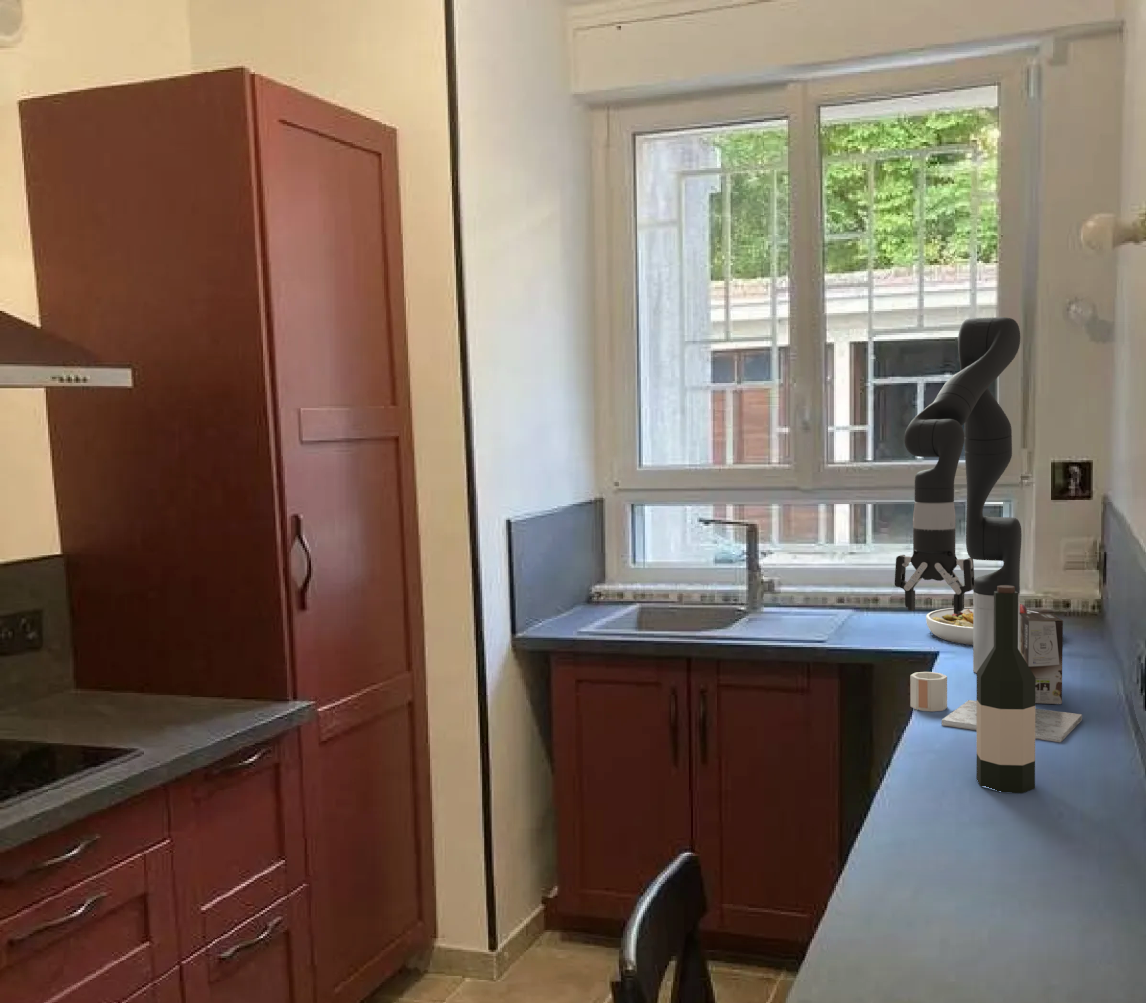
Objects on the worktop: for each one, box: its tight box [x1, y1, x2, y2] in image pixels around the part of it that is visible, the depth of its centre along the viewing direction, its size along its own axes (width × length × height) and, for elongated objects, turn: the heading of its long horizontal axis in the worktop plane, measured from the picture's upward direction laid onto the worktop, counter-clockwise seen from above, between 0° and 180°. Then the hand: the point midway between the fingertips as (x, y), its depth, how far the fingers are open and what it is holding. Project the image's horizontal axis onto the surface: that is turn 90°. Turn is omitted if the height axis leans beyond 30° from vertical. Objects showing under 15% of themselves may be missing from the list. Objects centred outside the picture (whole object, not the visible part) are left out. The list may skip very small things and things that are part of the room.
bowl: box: [925, 603, 1040, 646], centre depth 273 cm, size 30×30×8 cm
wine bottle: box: [976, 585, 1036, 794], centre depth 165 cm, size 8×8×30 cm
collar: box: [909, 671, 948, 712], centre depth 210 cm, size 6×6×6 cm
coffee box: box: [1019, 612, 1064, 705], centre depth 214 cm, size 9×6×16 cm
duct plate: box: [941, 699, 1083, 743], centre depth 198 cm, size 16×20×6 cm
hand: (934, 611), depth 208 cm, fingers open, 8 cm apart
